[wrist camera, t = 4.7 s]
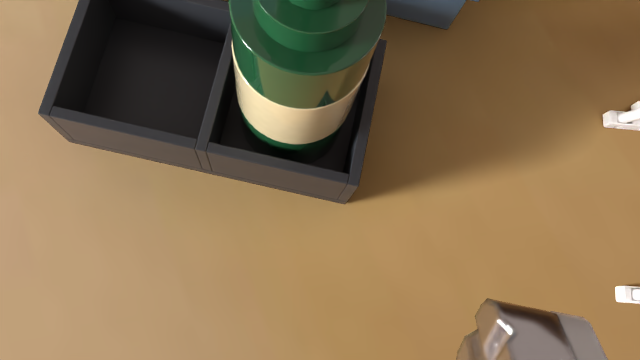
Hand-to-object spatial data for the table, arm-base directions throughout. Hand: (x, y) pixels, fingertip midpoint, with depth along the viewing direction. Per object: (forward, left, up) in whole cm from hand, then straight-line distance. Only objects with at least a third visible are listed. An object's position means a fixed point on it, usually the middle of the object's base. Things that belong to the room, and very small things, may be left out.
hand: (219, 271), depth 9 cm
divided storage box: (-4, +11, -24) cm, 27 cm away
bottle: (0, +11, -23) cm, 26 cm away
